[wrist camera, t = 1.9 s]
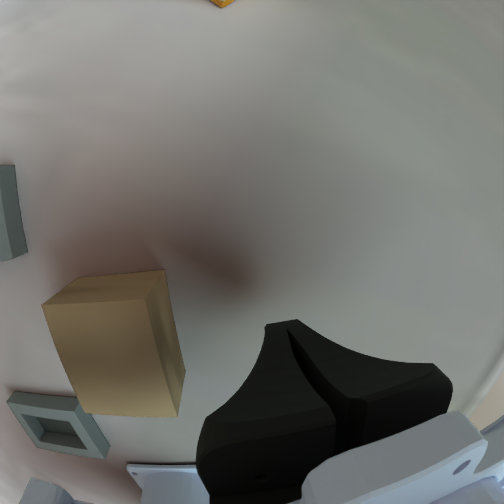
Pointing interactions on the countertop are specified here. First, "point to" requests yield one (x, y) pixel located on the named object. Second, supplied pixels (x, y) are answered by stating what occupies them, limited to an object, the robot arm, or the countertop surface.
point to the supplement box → (222, 2)
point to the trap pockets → (36, 405)
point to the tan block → (119, 343)
